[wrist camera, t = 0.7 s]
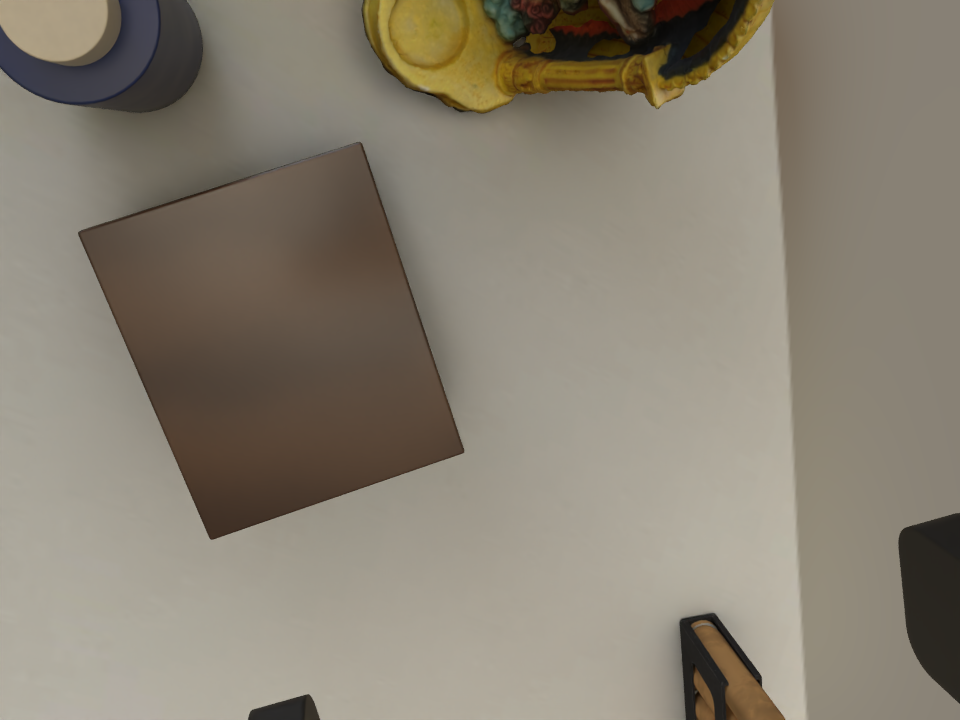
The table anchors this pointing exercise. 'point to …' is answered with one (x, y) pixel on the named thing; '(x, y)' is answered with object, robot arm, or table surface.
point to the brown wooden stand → (276, 338)
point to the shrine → (556, 45)
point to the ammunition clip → (720, 675)
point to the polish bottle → (101, 51)
